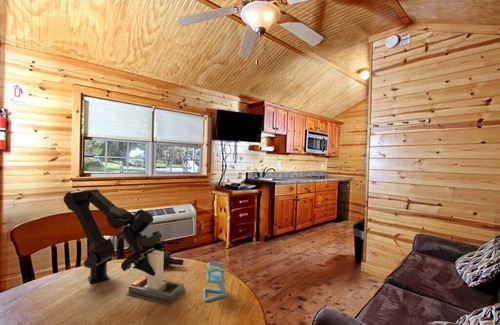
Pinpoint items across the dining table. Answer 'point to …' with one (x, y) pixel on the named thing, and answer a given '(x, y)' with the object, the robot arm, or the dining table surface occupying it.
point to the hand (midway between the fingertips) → (158, 272)
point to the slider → (156, 271)
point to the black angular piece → (171, 260)
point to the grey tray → (162, 297)
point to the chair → (215, 280)
